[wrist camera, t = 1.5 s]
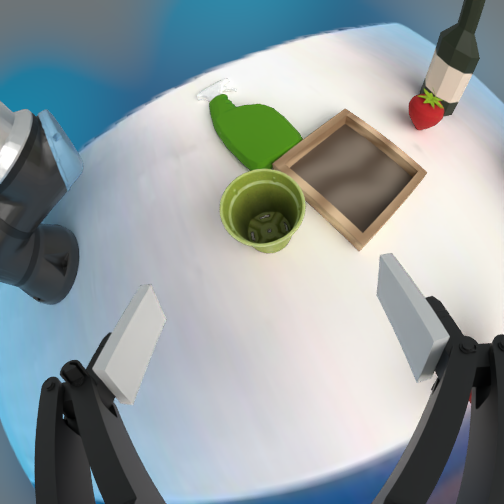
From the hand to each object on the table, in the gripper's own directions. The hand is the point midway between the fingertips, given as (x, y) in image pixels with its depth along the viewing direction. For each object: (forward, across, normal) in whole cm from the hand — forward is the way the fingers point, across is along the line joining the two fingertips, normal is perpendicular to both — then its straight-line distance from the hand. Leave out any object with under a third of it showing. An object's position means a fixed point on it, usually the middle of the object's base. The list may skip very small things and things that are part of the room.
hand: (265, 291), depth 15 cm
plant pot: (+22, 0, -6) cm, 23 cm away
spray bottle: (+38, -3, +9) cm, 39 cm away
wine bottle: (+40, +38, +11) cm, 56 cm away
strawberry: (+34, +29, +5) cm, 45 cm away
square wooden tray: (+28, +13, -1) cm, 31 cm away
